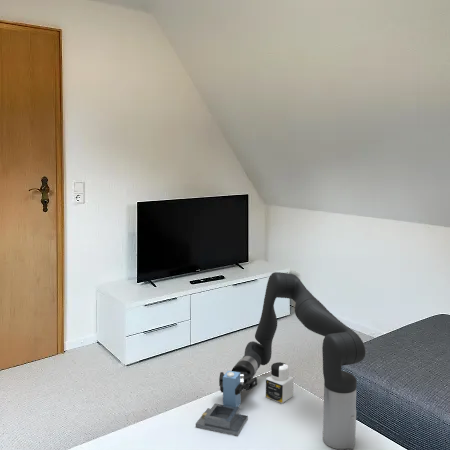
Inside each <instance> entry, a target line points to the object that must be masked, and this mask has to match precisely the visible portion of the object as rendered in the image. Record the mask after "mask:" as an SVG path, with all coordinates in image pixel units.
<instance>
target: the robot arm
mask: <svg viewBox="0 0 450 450" xmlns="http://www.w3.org/2000/svg"><path fill="white" fill-rule="evenodd" d="M277 298H279V299H280V298H281V299H289V300H292V301H294V302H295V304H294V314H295V316H296V318H297V320H299V322H300V323H301V324H302V325H303V326H304V328H306V329H307V330H308V331H311V332H313V333H314V334H317V335H319V336H322V337H324V338H323V341H322V347H321V348H322V351H321V352H322V374H323V380H324V382H323V410H322V412H323V415H322V417H323V418H322V421H323V422H322V440H323V443H324V444H325V445H326V446H328V447H329V448H333V449H336V450H348V449H350V450H354V449H355V448H354V447H355V441H356V434H357V433H356V430H357V408H356V407H357V388H358V387H357V384H358V383H357V381H358V380H357V378H356V376H354V375H353V374H352V373H350V372H348V371H344V370H342V366H348V365H350V366H351V365H354V364H359V363H360V362H362V361H363V360H364V359H365V356H366V347H365V344H364V342H363V340H362V339H361V337H360V336H359V334H358V333H356V332H355V331H354V330H353V329H351V328H350V327H349V326H347V325H346V324H345V323H343V322H342V321H341V320H340V319H338V318H337V317H336V316H335V315H334V314H333V313H332V312H331V311H329V310H328V309H327V307H326V306H325V305H324V304H323V303H322V302H320V300H319V299H318V298H316V297H315V296H314V295H313V293H312V292H310V291H309V289H307V287H306V286H305V285H304V283H303V282H302V281H301V279H300V278H299V277H298V276H297V275H296V274H293V273H290V272H289V273H288V272H287V273H286V272H278V271H275V272H272V273H271V274H270V276H269V277H268V279H267V284H266V288H265V294H264V298H263V305H262V311H261V316H260V319H259V323H258V324H257V328H256V331H255V333H254V338H255V340H256V341H253V340H252V341H249V342H248V343H247V344H246V346H245V349H244V354H243V357H242V358H240V359H238V361H237V363H236V364H235V365H234V366H233V368H232V369H231V371H234V372H240V384H239V385H238V386H237V387H236V389H235V395H238V394H240V395H241V393H242V392H243V391H244V390H245V391H246V392H248V391H250V390H252V389H253V388H256V386H257V385H258V377H257V376H256V377H255V375H256V374H257V371H258V370H259V368H260V367H261V366H265V365H268V363H270V361H271V359H272V348H273V347H272V345H273V340H274V337H275V334H276V331H277V328H278V318H277V314H276V311H275V301H276V299H277ZM225 374H226V373H224V372H223V371H222V372H220V373H219V378H218V381H219V382H218V384H219V385H218V386H219V391H220V393H222V394H223V376H224V375H225Z"/></svg>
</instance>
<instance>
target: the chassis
mask: <svg viewBox="0 0 450 450" xmlns="http://www.w3.org/2000/svg"><path fill="white" fill-rule="evenodd" d="M248 419H249V416H248V415H245V414H241V413H240V407H238V408H237V407H232V406H226V405H223V404H220V403H217V402H216V403H214V404H213V405H212V406H211V408H206V410H205V411H204V412H202V414H201V416H200V417H199V419H198V420H197V422H195V428H198V429H203V430H208V431H213V432H218V433H220V434H227V435H232V436H237V437H238V436H239V435H240V433H241V431H243V428H244V426H245V424H247V421H248Z"/></svg>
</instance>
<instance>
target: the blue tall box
mask: <svg viewBox="0 0 450 450" xmlns="http://www.w3.org/2000/svg"><path fill="white" fill-rule="evenodd" d="M224 374H225V375H224V376H223V393H222V405H226V406H232V407H237V408H239V406H240V405H241V393H240V394H238V395H235V389H236V387H237V386H238V385H239V384H240V372H234V371H232V370H227V371H226V372H225V373H224Z"/></svg>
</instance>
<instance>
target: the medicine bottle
mask: <svg viewBox="0 0 450 450" xmlns="http://www.w3.org/2000/svg"><path fill="white" fill-rule="evenodd" d="M293 396H294V377H293V376H291V375H289V365H288V364H287V363H284V362H281V361H280V362H274V363H272V364H271V367H270V376H267V377H266V378H265V398H267V399H269V400H272V401H275V402H276V403H280V404H283V403H285V402H286V401H288V400H290V399H291V398H293Z"/></svg>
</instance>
